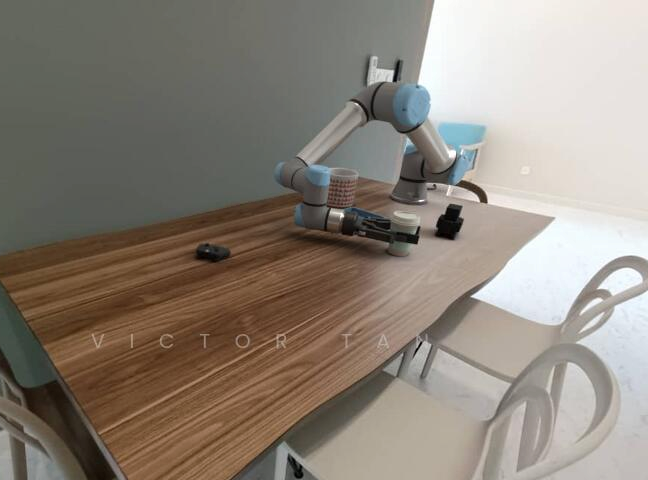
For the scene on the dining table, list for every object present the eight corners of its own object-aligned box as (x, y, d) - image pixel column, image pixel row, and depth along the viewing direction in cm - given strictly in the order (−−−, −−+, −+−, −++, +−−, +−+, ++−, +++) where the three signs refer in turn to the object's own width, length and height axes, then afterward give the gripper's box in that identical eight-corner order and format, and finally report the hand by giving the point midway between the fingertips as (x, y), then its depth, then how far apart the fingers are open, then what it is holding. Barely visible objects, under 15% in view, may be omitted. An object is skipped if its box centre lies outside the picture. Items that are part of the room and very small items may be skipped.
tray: (351, 212, 152) (352, 206, 151) (386, 224, 143) (387, 217, 142) (322, 221, 142) (323, 214, 140) (358, 234, 132) (359, 227, 131)
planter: (320, 197, 169) (324, 166, 162) (352, 200, 168) (357, 169, 161) (319, 206, 157) (323, 174, 151) (354, 209, 156) (359, 177, 149)
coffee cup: (413, 250, 123) (423, 213, 117) (409, 260, 116) (419, 221, 110) (386, 244, 126) (394, 208, 120) (380, 254, 119) (389, 216, 113)
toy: (462, 229, 143) (470, 202, 138) (455, 241, 132) (464, 212, 127) (440, 224, 146) (448, 198, 141) (432, 235, 135) (440, 207, 130)
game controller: (232, 251, 113) (226, 242, 107) (227, 268, 111) (220, 260, 106) (202, 245, 115) (194, 236, 109) (196, 262, 114) (188, 254, 108)
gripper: (347, 223, 133) (417, 235, 127) (334, 245, 116) (414, 259, 110) (350, 202, 129) (423, 213, 123) (338, 220, 112) (421, 234, 106)
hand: (418, 235), depth 117 cm, fingers closed on coffee cup, 8 cm apart
